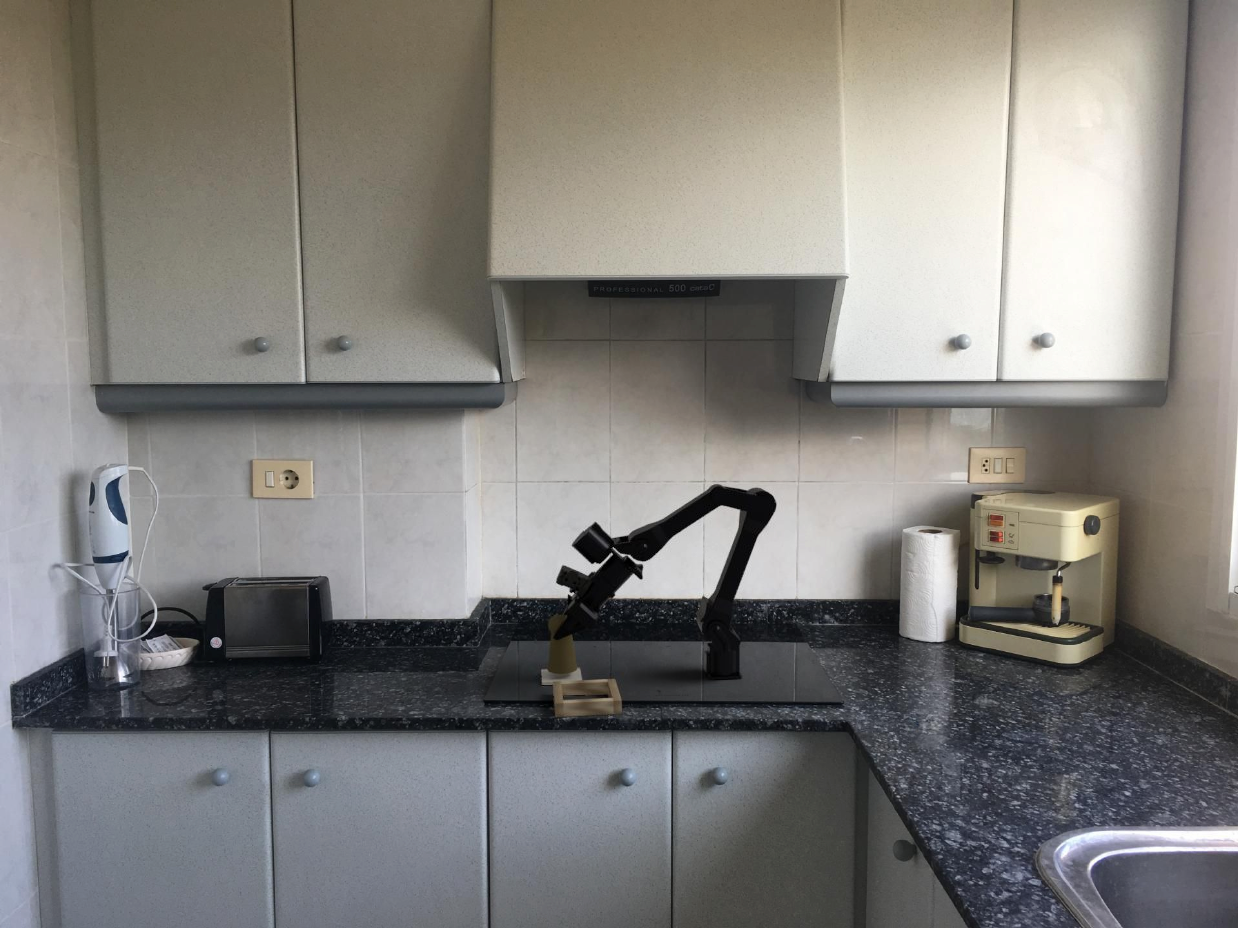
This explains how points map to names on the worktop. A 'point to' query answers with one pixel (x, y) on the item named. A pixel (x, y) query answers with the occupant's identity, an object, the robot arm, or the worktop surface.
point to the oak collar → (587, 705)
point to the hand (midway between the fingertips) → (554, 634)
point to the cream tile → (559, 676)
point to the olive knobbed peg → (561, 650)
